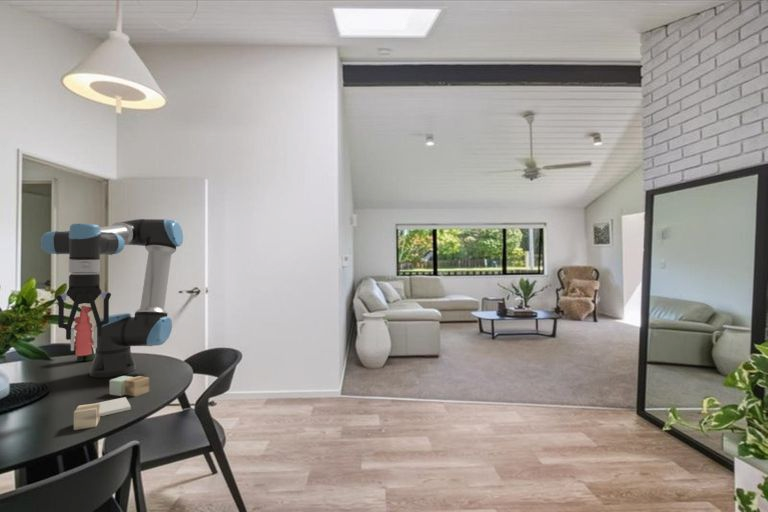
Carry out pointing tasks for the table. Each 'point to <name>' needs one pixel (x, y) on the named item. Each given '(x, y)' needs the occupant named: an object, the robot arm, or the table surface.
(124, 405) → the coaster
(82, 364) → the table surface
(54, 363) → the table surface
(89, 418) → the maple block
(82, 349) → the figurine
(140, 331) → the robot arm
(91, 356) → the character mug
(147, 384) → the oak block
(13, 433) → the table surface
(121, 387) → the sage block
